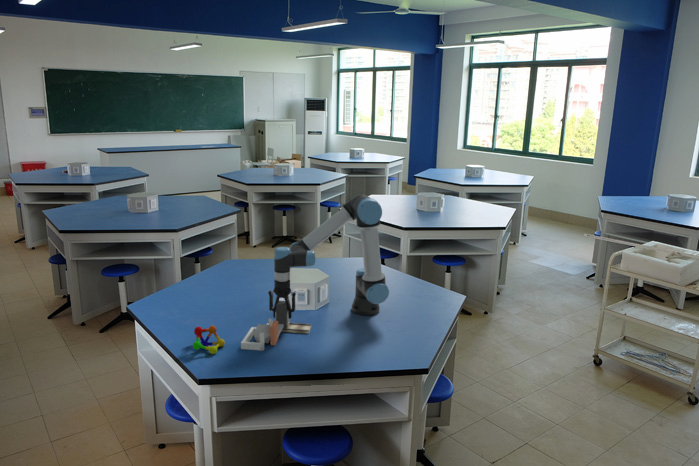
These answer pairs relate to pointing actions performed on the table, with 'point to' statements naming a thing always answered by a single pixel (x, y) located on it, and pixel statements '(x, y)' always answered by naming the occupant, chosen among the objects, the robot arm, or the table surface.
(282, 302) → the rod
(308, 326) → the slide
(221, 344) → the molecular model
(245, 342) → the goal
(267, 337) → the die
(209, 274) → the table surface
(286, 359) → the table surface
